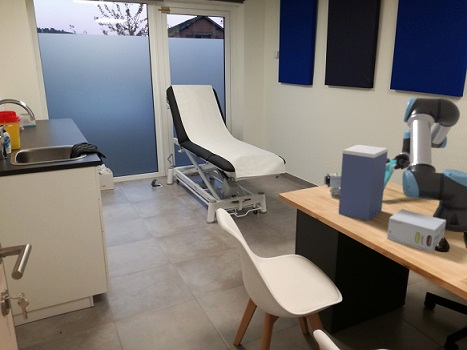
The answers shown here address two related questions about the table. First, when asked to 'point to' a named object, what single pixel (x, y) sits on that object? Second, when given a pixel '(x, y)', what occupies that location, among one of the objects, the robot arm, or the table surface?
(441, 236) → the supplement box
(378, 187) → the pedestal
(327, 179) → the pneumatic valve
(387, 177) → the bar
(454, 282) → the table surface
